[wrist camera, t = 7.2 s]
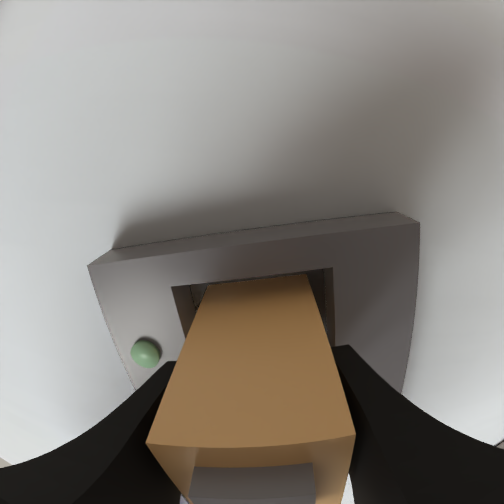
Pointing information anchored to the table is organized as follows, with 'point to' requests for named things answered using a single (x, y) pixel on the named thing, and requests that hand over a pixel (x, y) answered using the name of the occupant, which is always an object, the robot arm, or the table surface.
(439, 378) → the table surface
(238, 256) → the socket block
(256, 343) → the plug
